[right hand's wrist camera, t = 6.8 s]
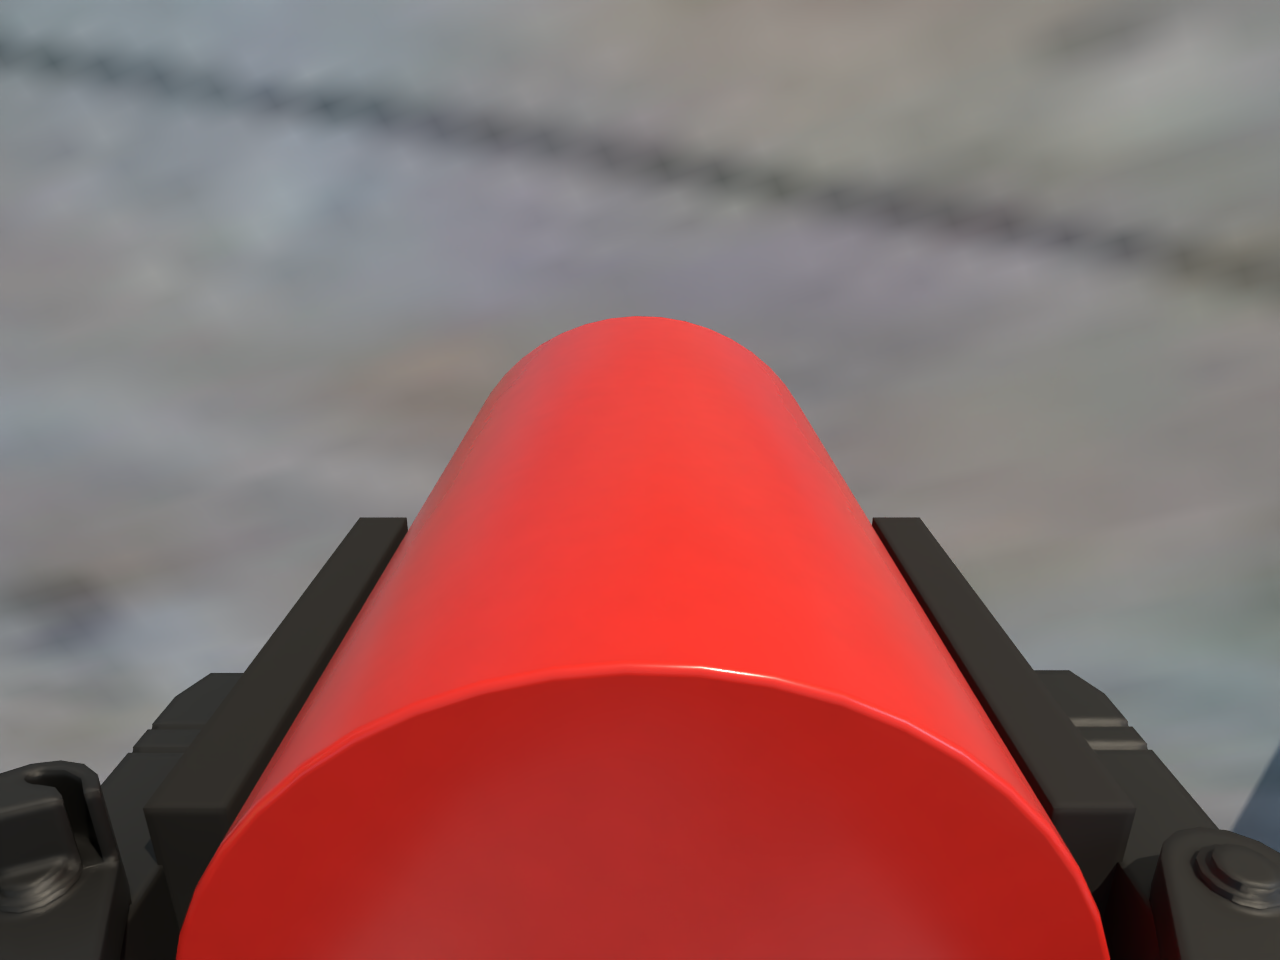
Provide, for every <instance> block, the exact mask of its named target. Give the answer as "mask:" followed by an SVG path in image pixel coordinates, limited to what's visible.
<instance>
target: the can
mask: <svg viewBox="0 0 1280 960" xmlns="http://www.w3.org/2000/svg"><path fill="white" fill-rule="evenodd" d="M176 960H1110V955H1109V951H1108V946H1107V942H1106V938H1105V934H1104V930H1103V925H1102V921H1101V917H1100V913H1099V910H1098V908H1097V905H1096V903H1095V901H1094V899H1093V896H1092V894H1091V892H1090V890H1089V888H1088V885H1087V883H1086V881H1085V879H1084V876H1083V874H1082V872H1081V870H1080V867H1079V866H1078V864H1077V862H1076V861H1075V859H1074V858H1073V856H1072V854H1071V853H1070V851H1069V849H1068V848H1067V846H1066V844H1065V843H1064V841H1063V839H1062V838H1061V836H1060V834H1059V833H1058V831H1057V830H1056V828H1055V826H1054V825H1053V823H1052V821H1051V820H1050V818H1049V816H1048V815H1047V813H1046V811H1045V810H1044V808H1043V807H1042V805H1041V803H1040V802H1039V800H1038V798H1037V797H1036V795H1035V793H1034V792H1033V790H1032V788H1031V787H1030V785H1029V783H1028V782H1027V780H1026V779H1025V777H1024V775H1023V774H1022V772H1021V770H1020V769H1019V767H1018V765H1017V764H1016V762H1015V760H1014V759H1013V757H1012V756H1011V754H1010V752H1009V751H1008V749H1007V747H1006V746H1005V744H1004V742H1003V741H1002V739H1001V737H1000V736H999V734H998V732H997V731H996V729H995V728H994V726H993V724H992V723H991V721H990V719H989V718H988V716H987V714H986V713H985V711H984V709H983V708H982V706H981V704H980V703H979V701H978V700H977V698H976V696H975V695H974V693H973V691H972V690H971V688H970V686H969V685H968V683H967V681H966V680H965V678H964V677H963V675H962V673H961V672H960V670H959V668H958V667H957V665H956V663H955V662H954V660H953V658H952V657H951V655H950V653H949V652H948V650H947V649H946V647H945V645H944V644H943V642H942V640H941V639H940V637H939V635H938V634H937V632H936V630H935V629H934V627H933V626H932V624H931V622H930V621H929V619H928V617H927V616H926V614H925V612H924V611H923V609H922V607H921V606H920V604H919V602H918V601H917V599H916V598H915V596H914V594H913V593H912V591H911V589H910V588H909V586H908V584H907V583H906V581H905V579H904V578H903V576H902V575H901V573H900V571H899V570H898V568H897V566H896V565H895V563H894V561H893V560H892V558H891V556H890V555H889V553H888V551H887V550H886V548H885V547H884V545H883V543H882V542H881V540H880V538H879V537H878V535H877V533H876V532H875V530H874V528H873V527H872V525H871V524H870V522H869V520H868V519H867V517H866V515H865V514H864V512H863V510H862V509H861V507H860V505H859V504H858V502H857V500H856V499H855V497H854V496H853V494H852V492H851V491H850V489H849V487H848V486H847V484H846V482H845V481H844V479H843V477H842V476H841V474H840V473H839V471H838V469H837V468H836V466H835V464H834V463H833V461H832V459H831V458H830V456H829V454H828V453H827V451H826V449H825V448H824V446H823V445H822V443H821V441H820V440H819V438H818V436H817V435H816V433H815V431H814V430H813V428H812V426H811V425H810V423H809V422H808V420H807V418H806V417H805V415H804V413H803V412H802V410H801V408H800V407H799V405H798V403H797V402H796V400H795V399H794V397H793V396H792V394H791V393H790V391H789V390H788V388H787V387H786V385H785V384H784V383H783V382H782V381H781V380H780V379H779V377H778V376H777V375H776V374H775V373H774V372H773V371H772V370H771V369H770V367H768V366H767V365H766V364H765V363H764V362H763V361H761V360H760V359H759V358H758V357H757V356H756V355H754V354H753V353H752V352H751V351H749V350H748V349H746V348H744V347H743V346H741V345H740V344H738V343H737V342H735V341H733V340H732V339H730V338H728V337H726V336H724V335H721V334H719V333H717V332H715V331H713V330H711V329H708V328H705V327H702V326H698V325H695V324H692V323H689V322H686V321H680V320H674V319H668V318H662V317H642V316H633V317H622V318H612V319H607V320H602V321H598V322H594V323H589V324H585V325H583V326H580V327H577V328H575V329H572V330H569V331H567V332H564V333H562V334H560V335H558V336H556V337H554V338H552V339H551V340H549V341H547V342H545V343H543V344H541V345H540V346H539V347H537V348H536V349H534V350H533V351H532V352H530V353H529V354H528V355H526V356H525V357H523V358H522V359H521V360H520V361H519V362H518V363H517V364H516V365H515V366H514V367H513V368H512V369H511V370H510V371H509V372H507V373H506V374H505V376H504V377H503V378H502V379H501V381H500V382H499V383H498V384H497V386H496V387H495V388H494V389H493V391H492V392H491V393H490V395H489V397H488V398H487V400H486V402H485V403H484V405H483V407H482V408H481V410H480V412H479V413H478V415H477V417H476V418H475V420H474V422H473V423H472V425H471V427H470V428H469V430H468V432H467V433H466V435H465V437H464V438H463V440H462V442H461V443H460V445H459V447H458V448H457V450H456V452H455V453H454V455H453V457H452V458H451V460H450V462H449V463H448V465H447V467H446V468H445V470H444V472H443V473H442V475H441V477H440V478H439V480H438V482H437V483H436V485H435V487H434V488H433V490H432V492H431V493H430V495H429V497H428V498H427V500H426V502H425V503H424V505H423V507H422V508H421V510H420V512H419V513H418V515H417V517H416V518H415V520H414V522H413V523H412V525H411V527H410V529H409V530H408V532H407V534H406V535H405V537H404V539H403V540H402V542H401V544H400V545H399V547H398V549H397V550H396V552H395V554H394V555H393V557H392V559H391V560H390V562H389V564H388V565H387V567H386V569H385V570H384V572H383V574H382V575H381V577H380V579H379V580H378V582H377V584H376V585H375V587H374V589H373V590H372V592H371V594H370V595H369V597H368V599H367V600H366V602H365V604H364V605H363V607H362V609H361V610H360V612H359V614H358V615H357V617H356V619H355V620H354V622H353V624H352V625H351V627H350V629H349V630H348V632H347V634H346V635H345V637H344V639H343V640H342V642H341V644H340V645H339V647H338V649H337V650H336V652H335V654H334V655H333V657H332V659H331V660H330V662H329V664H328V665H327V667H326V669H325V670H324V672H323V674H322V675H321V677H320V679H319V680H318V682H317V684H316V685H315V687H314V689H313V690H312V692H311V694H310V695H309V697H308V699H307V700H306V702H305V704H304V705H303V707H302V709H301V710H300V712H299V714H298V715H297V717H296V719H295V720H294V722H293V724H292V725H291V727H290V729H289V730H288V732H287V734H286V735H285V737H284V739H283V740H282V742H281V744H280V745H279V747H278V749H277V750H276V752H275V754H274V755H273V757H272V759H271V760H270V762H269V764H268V765H267V767H266V769H265V770H264V772H263V774H262V775H261V777H260V779H259V780H258V782H257V784H256V785H255V787H254V789H253V790H252V792H251V794H250V795H249V797H248V799H247V800H246V802H245V804H244V805H243V807H242V809H241V810H240V812H239V814H238V815H237V817H236V819H235V820H234V822H233V824H232V825H231V827H230V829H229V830H228V832H227V834H226V835H225V837H224V839H223V840H222V842H221V844H220V846H219V847H218V849H217V851H216V853H215V854H214V856H213V858H212V859H211V861H210V863H209V865H208V866H207V868H206V870H205V872H204V873H203V875H202V877H201V878H200V880H199V882H198V884H197V885H196V887H195V890H194V893H193V896H192V899H191V901H190V904H189V907H188V910H187V913H186V916H185V918H184V921H183V924H182V927H181V930H180V934H179V940H178V947H177V953H176Z"/></svg>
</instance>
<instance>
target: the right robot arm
mask: <svg viewBox="0 0 1280 960" xmlns="http://www.w3.org/2000/svg"><path fill="white" fill-rule="evenodd" d="M872 527H873V528H874V530H875V532H876V533H877V535H878V537H879V538H880V540H881V542H882V543H883V545H884V547H885V548H886V550H887V551H888V553H889V555H890V556H891V558H892V560H893V561H894V563H895V565H896V566H897V568H898V570H899V571H900V573H901V575H902V576H903V578H904V579H905V581H906V583H907V584H908V586H909V588H910V589H911V591H912V593H913V594H914V596H915V598H916V599H917V601H918V602H919V604H920V606H921V607H922V609H923V611H924V612H925V614H926V616H927V617H928V619H929V621H930V622H931V624H932V626H933V627H934V629H935V630H936V632H937V634H938V635H939V637H940V639H941V640H942V642H943V644H944V645H945V647H946V649H947V650H948V652H949V653H950V655H951V657H952V658H953V660H954V662H955V663H956V665H957V667H958V668H959V670H960V672H961V673H962V675H963V677H964V678H965V680H966V681H967V683H968V685H969V686H970V688H971V690H972V691H973V693H974V695H975V696H976V698H977V700H978V701H979V703H980V704H981V706H982V708H983V709H984V711H985V713H986V714H987V716H988V718H989V719H990V721H991V723H992V724H993V726H994V728H995V729H996V731H997V732H998V734H999V736H1000V737H1001V739H1002V741H1003V742H1004V744H1005V746H1006V747H1007V749H1008V751H1009V752H1010V754H1011V756H1012V757H1013V759H1014V760H1015V762H1016V764H1017V765H1018V767H1019V769H1020V770H1021V772H1022V774H1023V775H1024V777H1025V779H1026V780H1027V782H1028V783H1029V785H1030V787H1031V788H1032V790H1033V792H1034V793H1035V795H1036V797H1037V798H1038V800H1039V802H1040V803H1041V805H1042V807H1043V808H1044V810H1045V811H1046V813H1047V815H1048V816H1049V818H1050V820H1051V821H1052V823H1053V825H1054V826H1055V828H1056V830H1057V831H1058V833H1059V834H1060V836H1061V838H1062V839H1063V841H1064V843H1065V844H1066V846H1067V848H1068V849H1069V851H1070V853H1071V854H1072V856H1073V858H1074V859H1075V861H1076V862H1077V864H1078V866H1079V867H1080V870H1081V872H1082V874H1083V876H1084V879H1085V881H1086V883H1087V885H1088V888H1089V890H1090V892H1091V894H1092V896H1093V899H1094V901H1095V903H1096V905H1097V908H1098V910H1099V913H1100V917H1101V921H1102V925H1103V930H1104V934H1105V938H1106V942H1107V946H1108V951H1109V955H1110V960H1280V853H1279V852H1277V851H1275V850H1273V849H1271V848H1270V847H1268V846H1266V845H1264V844H1263V843H1261V842H1259V841H1256V840H1253V839H1250V838H1248V837H1245V836H1242V835H1239V834H1236V833H1233V832H1230V831H1227V830H1219V829H1218V828H1217V826H1216V825H1215V824H1214V823H1213V822H1212V820H1211V819H1210V818H1209V817H1208V816H1207V814H1206V813H1205V812H1204V811H1203V810H1202V809H1201V807H1200V806H1199V805H1198V804H1197V803H1196V801H1195V800H1194V799H1193V798H1192V797H1191V796H1190V794H1189V793H1188V792H1187V791H1186V790H1185V788H1184V787H1183V786H1182V785H1181V784H1180V783H1179V781H1178V780H1177V779H1176V778H1175V777H1174V775H1173V774H1172V773H1171V772H1170V771H1169V769H1168V768H1167V767H1166V766H1165V765H1164V764H1163V762H1162V761H1161V760H1160V759H1159V758H1158V756H1157V755H1156V754H1155V753H1154V752H1153V751H1152V750H1148V749H1147V743H1146V742H1145V741H1144V740H1143V739H1142V738H1141V736H1140V735H1139V734H1138V733H1137V732H1136V730H1135V729H1134V728H1133V727H1129V726H1128V721H1127V720H1126V719H1125V717H1124V716H1123V715H1122V714H1121V713H1120V711H1119V710H1118V709H1117V708H1116V707H1115V706H1114V704H1113V703H1112V702H1111V701H1110V700H1109V698H1108V697H1107V696H1106V695H1105V694H1104V693H1103V692H1101V691H1100V690H1098V689H1097V688H1095V687H1093V686H1092V685H1090V684H1089V683H1087V682H1086V681H1084V680H1083V679H1081V678H1080V677H1078V676H1077V675H1075V674H1074V673H1072V672H1071V671H1069V670H1033V669H1032V668H1031V666H1030V665H1029V664H1028V662H1027V661H1026V659H1025V658H1024V657H1023V655H1022V654H1021V653H1020V651H1019V650H1018V649H1017V647H1016V646H1015V645H1014V643H1013V642H1012V641H1011V639H1010V638H1009V637H1008V635H1007V634H1006V633H1005V631H1004V630H1003V629H1002V627H1001V626H1000V625H999V623H998V622H997V621H996V619H995V618H994V617H993V615H992V614H991V613H990V611H989V610H988V609H987V607H986V606H985V605H984V603H983V602H982V601H981V599H980V598H979V597H978V595H977V594H976V593H975V591H974V590H973V589H972V587H971V586H970V585H969V583H968V582H967V581H966V579H965V578H964V577H963V575H962V574H961V573H960V571H959V570H958V569H957V567H956V566H955V564H954V563H953V562H952V560H951V559H950V558H949V556H948V555H947V554H946V552H945V551H944V550H943V548H942V547H941V546H940V544H939V543H938V542H937V540H936V539H935V538H934V536H933V535H932V534H931V532H930V531H929V530H928V528H927V527H926V526H925V524H924V523H923V522H922V520H921V519H920V518H873V522H872ZM407 532H408V527H407V518H359V520H358V521H357V522H356V524H355V525H354V526H353V528H352V529H351V530H350V532H349V533H348V534H347V536H346V537H345V538H344V540H343V541H342V542H341V544H340V545H339V546H338V548H337V549H336V550H335V552H334V553H333V554H332V556H331V557H330V558H329V560H328V561H327V562H326V564H325V565H324V566H323V568H322V569H321V570H320V572H319V573H318V574H317V576H316V577H315V578H314V580H313V581H312V582H311V584H310V585H309V586H308V588H307V589H306V590H305V592H304V593H303V595H302V596H301V597H300V599H299V600H298V601H297V603H296V604H295V605H294V607H293V608H292V609H291V611H290V612H289V613H288V615H287V616H286V617H285V619H284V620H283V621H282V623H281V624H280V625H279V627H278V628H277V629H276V631H275V632H274V633H273V635H272V636H271V637H270V639H269V640H268V641H267V643H266V644H265V645H264V647H263V648H262V649H261V651H260V652H259V653H258V655H257V656H256V657H255V659H254V660H253V661H252V663H251V664H250V665H249V667H248V668H247V669H246V671H245V672H244V673H210V674H209V675H207V676H206V677H204V678H203V679H201V680H200V681H198V682H197V683H195V684H194V685H192V686H191V687H189V688H188V689H186V690H185V691H183V692H182V693H180V694H179V695H177V696H176V697H175V698H174V699H173V700H172V701H171V703H170V704H169V705H168V706H167V707H166V708H165V710H164V711H163V712H162V713H161V714H160V716H159V717H158V718H157V719H156V720H155V722H154V723H153V724H152V729H151V730H147V731H146V732H145V733H144V735H143V736H142V737H141V738H140V739H139V741H138V742H137V743H136V744H135V745H134V747H133V752H132V753H128V754H127V755H126V756H125V757H124V759H123V760H122V761H121V762H120V763H119V764H118V766H117V767H116V768H115V769H114V770H113V772H112V773H111V774H110V775H109V776H108V778H107V779H106V780H105V781H104V782H103V784H102V785H100V782H99V778H98V775H97V774H96V773H95V772H94V771H92V770H91V769H90V768H88V767H87V766H86V765H84V764H80V763H74V762H67V761H52V762H44V763H35V764H29V765H26V766H23V767H20V768H16V769H13V770H10V771H7V772H4V773H0V960H176V953H177V947H178V940H179V934H180V930H181V927H182V924H183V921H184V918H185V916H186V913H187V910H188V907H189V904H190V901H191V899H192V896H193V893H194V890H195V887H196V885H197V884H198V882H199V880H200V878H201V877H202V875H203V873H204V872H205V870H206V868H207V866H208V865H209V863H210V861H211V859H212V858H213V856H214V854H215V853H216V851H217V849H218V847H219V846H220V844H221V842H222V840H223V839H224V837H225V835H226V834H227V832H228V830H229V829H230V827H231V825H232V824H233V822H234V820H235V819H236V817H237V815H238V814H239V812H240V810H241V809H242V807H243V805H244V804H245V802H246V800H247V799H248V797H249V795H250V794H251V792H252V790H253V789H254V787H255V785H256V784H257V782H258V780H259V779H260V777H261V775H262V774H263V772H264V770H265V769H266V767H267V765H268V764H269V762H270V760H271V759H272V757H273V755H274V754H275V752H276V750H277V749H278V747H279V745H280V744H281V742H282V740H283V739H284V737H285V735H286V734H287V732H288V730H289V729H290V727H291V725H292V724H293V722H294V720H295V719H296V717H297V715H298V714H299V712H300V710H301V709H302V707H303V705H304V704H305V702H306V700H307V699H308V697H309V695H310V694H311V692H312V690H313V689H314V687H315V685H316V684H317V682H318V680H319V679H320V677H321V675H322V674H323V672H324V670H325V669H326V667H327V665H328V664H329V662H330V660H331V659H332V657H333V655H334V654H335V652H336V650H337V649H338V647H339V645H340V644H341V642H342V640H343V639H344V637H345V635H346V634H347V632H348V630H349V629H350V627H351V625H352V624H353V622H354V620H355V619H356V617H357V615H358V614H359V612H360V610H361V609H362V607H363V605H364V604H365V602H366V600H367V599H368V597H369V595H370V594H371V592H372V590H373V589H374V587H375V585H376V584H377V582H378V580H379V579H380V577H381V575H382V574H383V572H384V570H385V569H386V567H387V565H388V564H389V562H390V560H391V559H392V557H393V555H394V554H395V552H396V550H397V549H398V547H399V545H400V544H401V542H402V540H403V539H404V537H405V535H406V534H407Z"/></svg>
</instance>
